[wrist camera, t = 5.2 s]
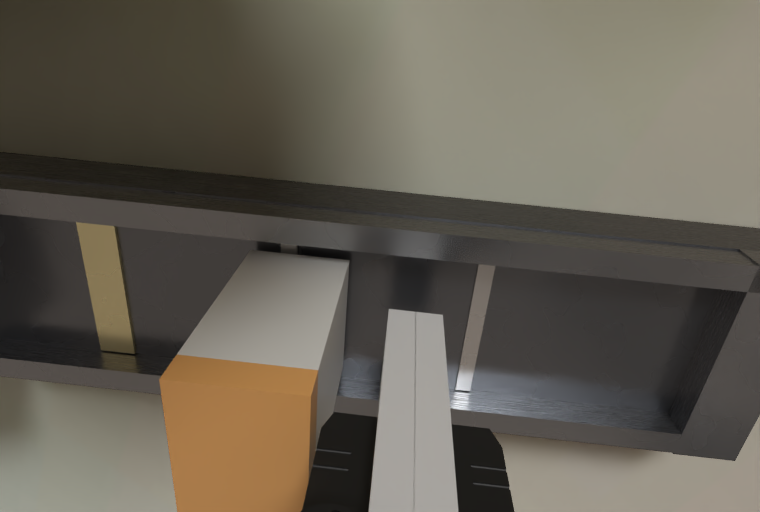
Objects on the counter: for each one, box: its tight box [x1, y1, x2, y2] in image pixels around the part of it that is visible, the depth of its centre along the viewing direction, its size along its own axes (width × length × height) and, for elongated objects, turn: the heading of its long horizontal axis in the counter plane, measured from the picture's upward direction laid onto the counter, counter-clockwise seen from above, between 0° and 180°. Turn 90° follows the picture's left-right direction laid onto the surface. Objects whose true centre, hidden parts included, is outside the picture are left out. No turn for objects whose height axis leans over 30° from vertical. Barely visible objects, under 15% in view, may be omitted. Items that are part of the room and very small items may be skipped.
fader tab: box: [159, 250, 349, 512], centre depth 13 cm, size 4×3×6 cm
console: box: [0, 152, 760, 461], centre depth 16 cm, size 7×28×6 cm, turn 85°
